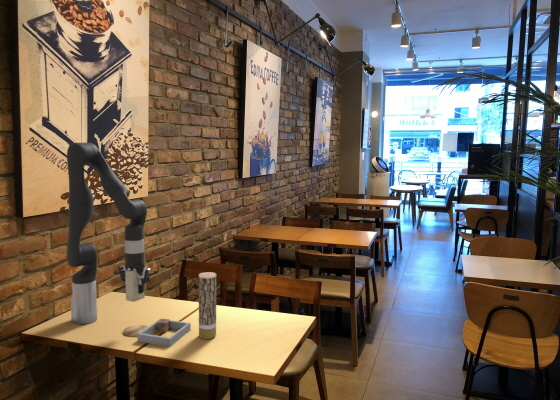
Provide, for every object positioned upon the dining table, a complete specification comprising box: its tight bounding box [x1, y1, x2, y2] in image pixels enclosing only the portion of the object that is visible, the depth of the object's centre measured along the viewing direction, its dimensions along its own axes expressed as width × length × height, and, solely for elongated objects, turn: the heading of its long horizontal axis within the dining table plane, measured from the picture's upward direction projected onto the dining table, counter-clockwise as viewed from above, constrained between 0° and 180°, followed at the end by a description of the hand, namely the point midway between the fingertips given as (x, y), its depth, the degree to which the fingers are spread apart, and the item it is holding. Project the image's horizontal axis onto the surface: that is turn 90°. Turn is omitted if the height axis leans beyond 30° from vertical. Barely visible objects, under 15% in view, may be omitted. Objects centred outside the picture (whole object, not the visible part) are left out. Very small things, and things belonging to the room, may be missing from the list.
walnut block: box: [156, 318, 171, 333], centre depth 180 cm, size 4×4×4 cm
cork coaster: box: [122, 324, 149, 337], centre depth 178 cm, size 10×10×1 cm
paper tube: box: [198, 271, 217, 340], centre depth 174 cm, size 7×7×25 cm
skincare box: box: [125, 270, 145, 303], centre depth 176 cm, size 6×4×12 cm
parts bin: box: [137, 319, 192, 347], centre depth 175 cm, size 14×16×3 cm
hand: (135, 292), depth 177 cm, fingers closed on skincare box, 4 cm apart
